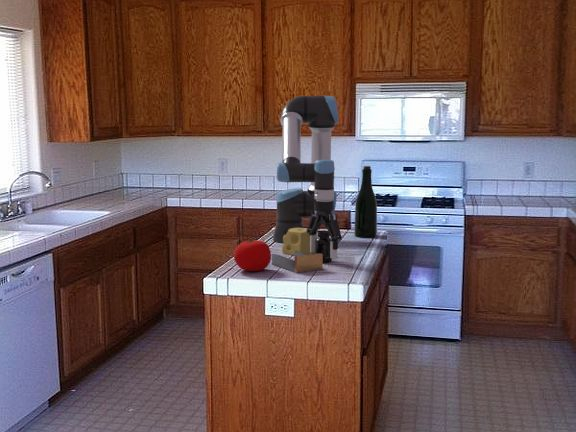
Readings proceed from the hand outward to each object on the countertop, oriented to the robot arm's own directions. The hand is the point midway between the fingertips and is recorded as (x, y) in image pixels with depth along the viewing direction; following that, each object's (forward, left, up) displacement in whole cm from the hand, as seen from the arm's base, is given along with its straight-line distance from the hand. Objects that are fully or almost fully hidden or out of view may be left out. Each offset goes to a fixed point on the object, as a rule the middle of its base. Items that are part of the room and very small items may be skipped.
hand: (323, 254), depth 265 cm
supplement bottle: (0, 0, -3) cm, 3 cm away
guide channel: (+2, -14, -3) cm, 14 cm away
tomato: (-1, -31, -3) cm, 31 cm away
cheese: (-18, +1, -3) cm, 18 cm away
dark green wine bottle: (-36, +50, -3) cm, 61 cm away
